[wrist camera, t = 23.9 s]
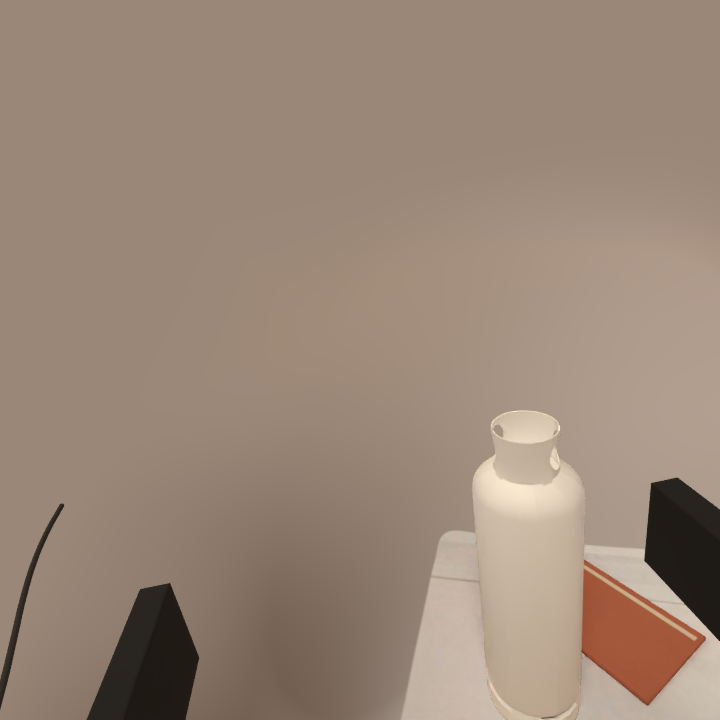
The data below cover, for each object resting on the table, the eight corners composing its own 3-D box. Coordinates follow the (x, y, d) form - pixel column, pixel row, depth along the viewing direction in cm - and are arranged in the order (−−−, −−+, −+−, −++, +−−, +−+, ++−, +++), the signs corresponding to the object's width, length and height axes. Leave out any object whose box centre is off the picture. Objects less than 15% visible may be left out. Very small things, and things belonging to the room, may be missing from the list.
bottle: (496, 636, 48) (480, 397, 38) (581, 661, 45) (588, 404, 35) (479, 714, 42) (454, 449, 32) (578, 751, 38) (584, 465, 28)
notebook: (518, 600, 52) (518, 597, 52) (575, 556, 56) (575, 553, 56) (647, 705, 40) (648, 702, 40) (705, 639, 45) (706, 636, 45)
